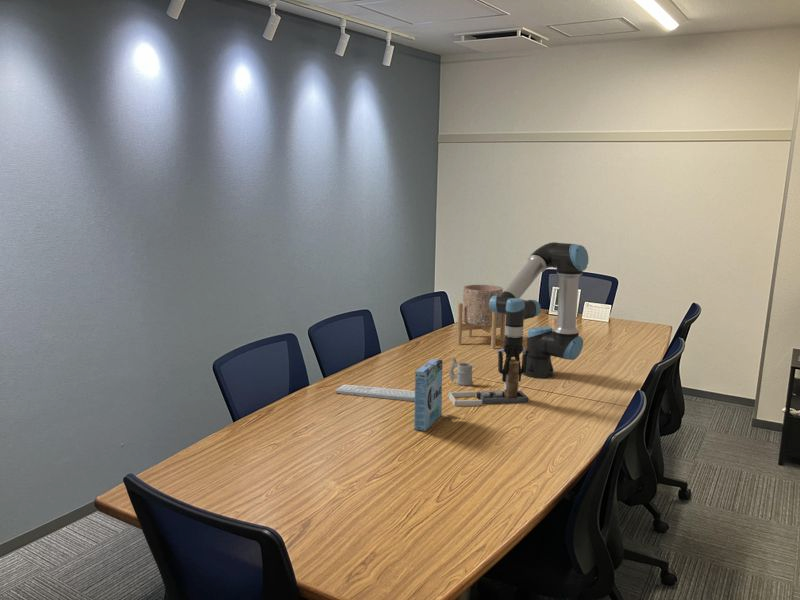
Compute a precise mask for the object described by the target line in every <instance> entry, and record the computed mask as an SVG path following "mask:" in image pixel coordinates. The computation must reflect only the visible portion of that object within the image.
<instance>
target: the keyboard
mask: <svg viewBox="0 0 800 600" xmlns="http://www.w3.org/2000/svg"><path fill="white" fill-rule="evenodd" d="M334 391H335V393H341V394H340V395H347V394H348V395H349V396H357V395H359V396H358V397H366V396H367V398H377V399H387V400H397V401H407V402H415V390H409V389H408V390H407V389H398V388H396V389H395V388H387V387H386V388H385V387H378V386H377V387H374V386H367V385H365V386H363V385H354V384H353V385H352V384H342V385H340V386H339V387H337V388H335V389H334Z"/></svg>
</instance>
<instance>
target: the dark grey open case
mask: <svg viewBox="0 0 800 600" xmlns="http://www.w3.org/2000/svg"><path fill="white" fill-rule="evenodd" d="M500 391H501V390H500ZM480 392H481V391H477V392H475V397H476V399H477V400H482V405H493V404H494V405H495V404H500V405H501V404H517V403H518V404H520V403H521V404H522V403H523V404H524V403H527V404H528V403H529V396H528V395H526V394H525V393H524V392H523V391H522V390H518V392H517V397H505V396H504V393H505V390H504V391H503V390H502V391H501V392H502V393H503V396H502V398H493V391H488V392H489V393H490V398H481V399H480Z"/></svg>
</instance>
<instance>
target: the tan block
mask: <svg viewBox="0 0 800 600" xmlns="http://www.w3.org/2000/svg"><path fill="white" fill-rule="evenodd" d="M518 373H519V361H517V360H516V359H515V357H511V360H510V361H509V367H508V371H507V374H508V390H505V389H504V391H505V393H504V396H505V397H517V392H518V391H519V386H518Z"/></svg>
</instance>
